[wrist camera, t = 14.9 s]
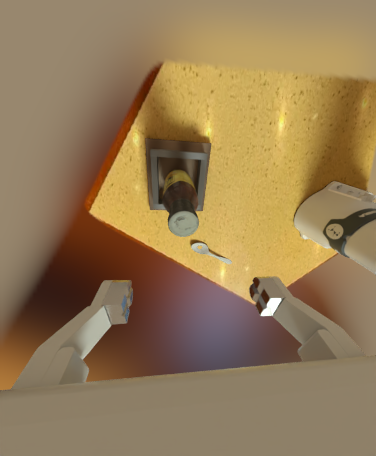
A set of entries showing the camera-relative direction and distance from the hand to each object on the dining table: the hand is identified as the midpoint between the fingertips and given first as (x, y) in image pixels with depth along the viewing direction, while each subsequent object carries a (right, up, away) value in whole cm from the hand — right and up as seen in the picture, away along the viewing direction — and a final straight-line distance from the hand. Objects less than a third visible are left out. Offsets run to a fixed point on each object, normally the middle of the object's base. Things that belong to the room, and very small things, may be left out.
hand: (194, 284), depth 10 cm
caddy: (-3, +16, +27) cm, 31 cm away
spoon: (+9, -5, +41) cm, 43 cm away
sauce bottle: (-3, +15, +26) cm, 30 cm away
